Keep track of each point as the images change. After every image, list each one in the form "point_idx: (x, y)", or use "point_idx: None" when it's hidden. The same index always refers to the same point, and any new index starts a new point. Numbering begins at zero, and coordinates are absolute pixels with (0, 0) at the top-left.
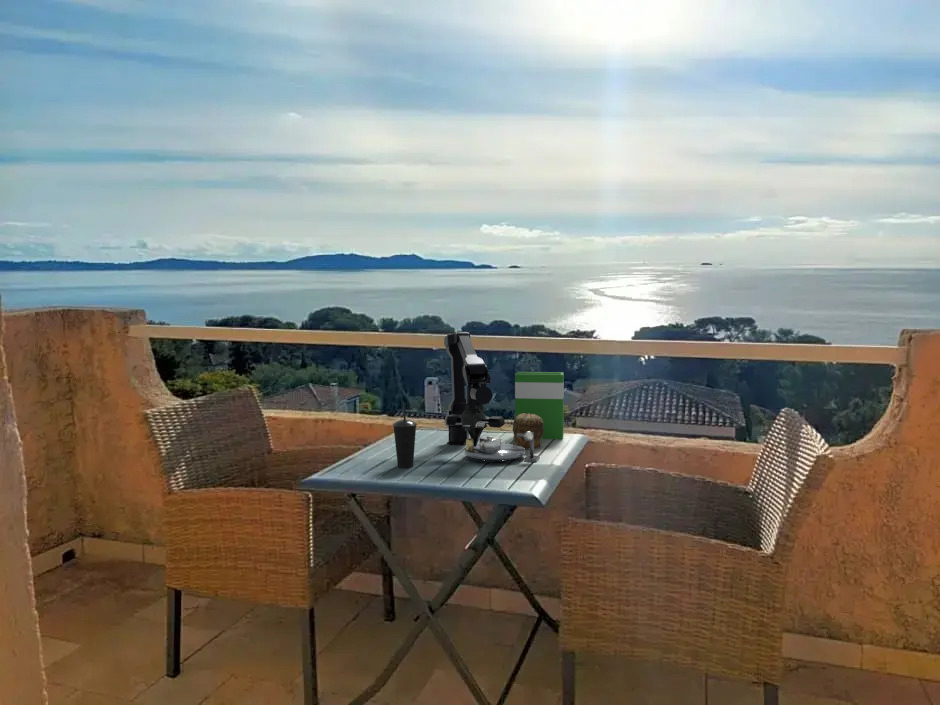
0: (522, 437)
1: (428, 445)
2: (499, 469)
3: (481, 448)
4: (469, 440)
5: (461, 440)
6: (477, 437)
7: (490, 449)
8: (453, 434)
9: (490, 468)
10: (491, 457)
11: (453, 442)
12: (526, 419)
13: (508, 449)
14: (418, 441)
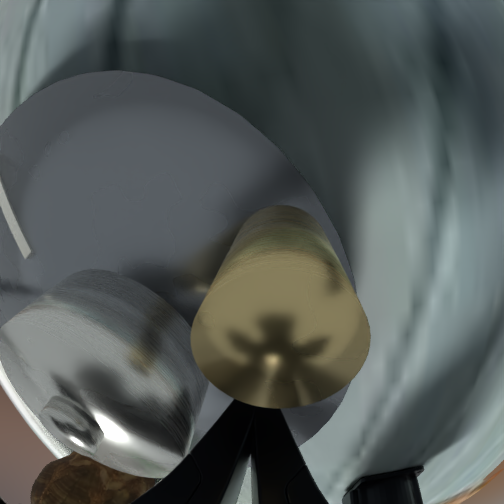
0: (88, 474)
1: (486, 428)
2: (35, 37)
3: (151, 309)
4: (266, 264)
5: (371, 491)
6: (191, 454)
7: (64, 279)
8: (406, 501)
9: (72, 23)
10: (36, 97)
11: (401, 476)
12: None
13: None
14: (493, 444)
